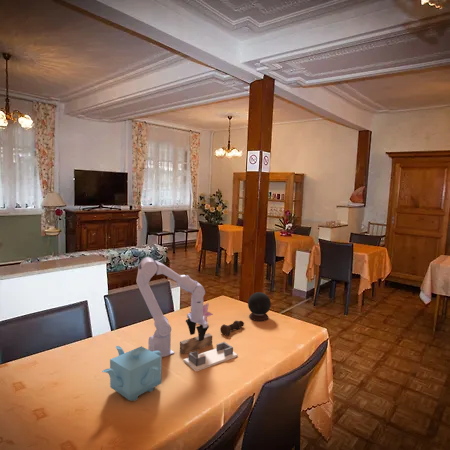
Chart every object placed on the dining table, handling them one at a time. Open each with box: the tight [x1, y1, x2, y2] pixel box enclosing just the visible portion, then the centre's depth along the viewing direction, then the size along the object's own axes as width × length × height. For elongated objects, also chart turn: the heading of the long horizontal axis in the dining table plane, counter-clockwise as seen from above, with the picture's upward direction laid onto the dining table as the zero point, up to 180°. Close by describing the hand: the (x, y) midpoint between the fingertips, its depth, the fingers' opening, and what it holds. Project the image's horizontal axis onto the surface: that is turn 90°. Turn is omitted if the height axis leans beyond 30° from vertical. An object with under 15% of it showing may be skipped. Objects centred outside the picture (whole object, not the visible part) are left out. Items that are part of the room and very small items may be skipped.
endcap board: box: [183, 341, 239, 372], centre depth 151 cm, size 22×10×4 cm, turn 127°
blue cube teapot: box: [102, 345, 162, 402], centre depth 126 cm, size 19×19×15 cm
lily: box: [188, 302, 213, 323], centre depth 192 cm, size 12×12×10 cm
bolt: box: [220, 320, 245, 337], centre depth 181 cm, size 6×5×15 cm
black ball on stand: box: [247, 291, 272, 322], centre depth 199 cm, size 13×13×15 cm
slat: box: [179, 333, 213, 355], centre depth 161 cm, size 16×3×5 cm, turn 127°
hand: (196, 337), depth 160 cm, fingers open, 7 cm apart
